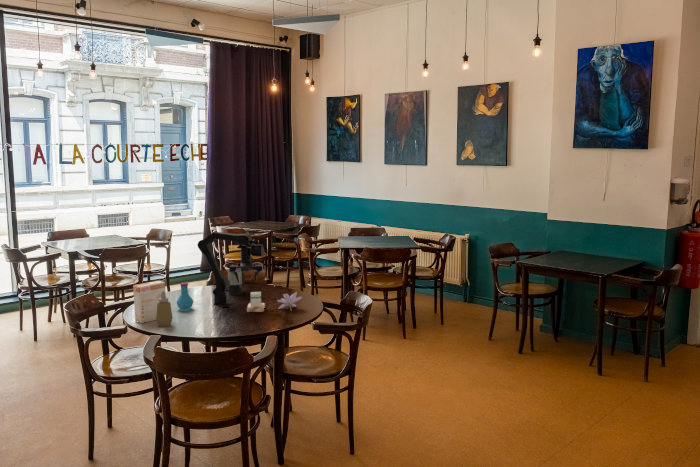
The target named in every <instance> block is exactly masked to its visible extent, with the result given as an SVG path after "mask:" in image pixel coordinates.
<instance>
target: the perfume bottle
mask: <svg viewBox="0 0 700 467" xmlns="http://www.w3.org/2000/svg"><path fill="white" fill-rule="evenodd" d="M179 285H180V291H181V292H180V293H181V294H180V295H179V297H178V299H177V300H176V301H175V302H176V305H177V307H178V308H179V310H178V311H182V312H184V311H185V312H186V311H190V310H192V307H193V304H194V300H193V298H192V297H191V296H190V294H189V293H188V292H189V290H188V286H189V283H188V282H181V283H179Z"/></svg>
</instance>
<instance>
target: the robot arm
mask: <svg viewBox="0 0 700 467" xmlns="http://www.w3.org/2000/svg"><path fill="white" fill-rule="evenodd" d="M216 240H218V241H219V240H220V241H228V242H233V243H234V242H235V244H236V243H237V244H239V245H238V246H237V247H236V249H240V266H238V265H237V264H231V265H230V266H229V269H228V270H229V271H230V272H232V273H234V274H235V276H236V278H237V281H238V283H239V274H238V270H241V271H243V272H249V271H251V270H253V271H254V270H255V271H254V278H253V279H254V281H253V282H254V283H255V284H256V281H257V279H258V278H257V277H258V275H259V273H261V272H263V271H264V265H263V264H255V265H254V263H253V262H252V257H260V258H261V257H264V256H265V248H264V244H256V242H255V241H254V239H253V238H252V235H251V234H249V233H238V234H235V233H228V232H226V233H225V232H219V231H213V232H211V233H210V234H209V235H208V236H206V237H205V238H204V239H201V240H199V241H198V242H197V247H198V249H199V251H200V252H201V253H202V254H203V255H204V256H205V259H206V260H207V263H208V265H209V268H210V270H211V272H212V274H213V277H214V285H215V288H214V289H213V290H212V295H213V296H214V297H213V298H214V303H213V305H214V306H219V305H223V306H224V305H226V304H227V302H228V295H227V292H228V291H227V289H228V288H229V286H230V281H229V280H228V275H226V276H224V273H222V270H221V268H220V265H219V263H218V262H217V261H218V260H217V259H216V257H215V255H214V252H213V248H214V247H213V243H214V242H215V241H216ZM226 291H227V292H226Z"/></svg>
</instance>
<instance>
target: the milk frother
mask: <svg viewBox="0 0 700 467" xmlns="http://www.w3.org/2000/svg"><path fill="white" fill-rule="evenodd" d="M226 272H227V277H228V280H229V281H230V286H229V288H228V289H227V291H226V293H227V294H228V295H231V296H232V295H233V296H237V295H242V294H243V293H244V291H243V287H244V285H245V284H244V283H245V280H244V279H245V273H244V271H241V270H238V274H239V283H238V281H237V278H236V276H235V274H234V273H232V272H230V271H229V269H227V270H226Z"/></svg>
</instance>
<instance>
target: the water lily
mask: <svg viewBox="0 0 700 467" xmlns="http://www.w3.org/2000/svg"><path fill="white" fill-rule="evenodd" d="M297 294H298V292H297V291H295V292H293V293H292V294H291V295H289V294H288V293H283V295H282V296H283V297H281V298H280V299H277V300H276V301H277V303H281V305H280V306H279V307H278V310H280V309H284V308H286V307H287V306H289V310H290V312H292V311H293V310H292V308H296V307H297V304H296V303H297V302H298V301H300V300H301V299H302V298H303V296H298V297H297Z"/></svg>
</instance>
